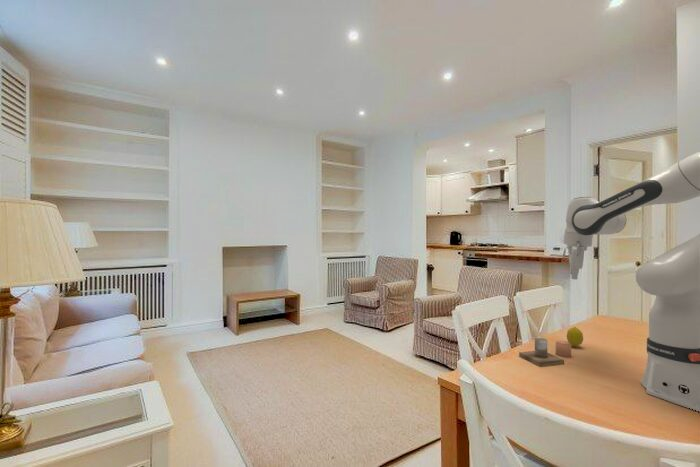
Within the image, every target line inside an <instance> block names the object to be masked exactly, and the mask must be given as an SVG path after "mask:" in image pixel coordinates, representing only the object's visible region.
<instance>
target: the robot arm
mask: <svg viewBox="0 0 700 467" xmlns="http://www.w3.org/2000/svg"><path fill="white" fill-rule="evenodd" d="M699 197H700V151H698V152H694V154H691V155H689V156H686V157H684V158H683V159H681V160H680V161H677V162H676V163H674V164H672V165H670V166H668V167H667V168H665V169H663V170H661V171H660V172H658V173H656V174H654V175H652V176H650V177H649V178H647V179H645V180H643V181H641V182H639V183H636V184H635V185H633V186H631V187H629V188H626V189H624V190H622V191H620V192H618V193H616V194H614V195H612V196H610V197H607V198H606V199H604V200H601V201H599V200H597V199H596V197H593V196H581V197H575V198H573V199H571V200H570V202H569V204H568V206H567V210H566V211H567V212H566V218H565V222H566V227H565V229H564V237H563V244H564V245H566V249H567V250H568V262H569V266H570V275H571V279H572V280H575V281H576V280H578V275H579V272H580V270H581V269H583V266H584V256H585V252H587V251H588V248H589V247H592V246H593V239H594V238H593V237H594V235H597V236H599V235H603V236H604V235H613V234H614V235H615V234H618V233H620V232H621V231H623V229H625V227H626V224H627V217H626V214H628V213H629V212H631V211H633V210H636V209H638V208H642V207H646V206H652V205H653V206H655V205H665V204H666V205H667V204H678V203H682V202H685V201H689V200H692V199H695V198H699ZM635 282H636V283H637V285H638V287H639V288H640V289H641V290H642V291H644V293H645V292H646V293H647V294H649V295H652V296H656V297H655V299H654V303H653V305H652V307H651V309H650V310H649V313H648V337H647V338H646V352H647V360H646V361H647V362H646V366H645V367H646V368H645V371H644V374H643V377H642V380H641V385H642V387H643V388H645V391H646V393H647V394H648V395H651V396H653V397H656V398H659V399H662V400H665V401H667V402H669V403H673V404H676V405H679V406H681V407H685V408H687V409H689V408H690V409H689V410H692V409H693V410H692V411H695V410H696V412H698V411H699V412H698V413H700V233H699V234H697V235H695V236H694V237H692V238H690V239H688V240H687V241H684V242H682V243H681V244H679V245H676V246H674V247H673V248H671V249H669V250H667V251H665V252H664V253H662V254H659V255H658V256H656V257H655V258H652V259H651V260H649V261H647V262H645V263H644V264H642V265H640V266H639V268H638V269H637V270H636V272H635Z"/></svg>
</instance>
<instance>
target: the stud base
mask: <svg viewBox="0 0 700 467" xmlns="http://www.w3.org/2000/svg"><path fill="white" fill-rule="evenodd" d="M518 354H519V355H518V356H519V357H520V358H522V359H524V360H525V361H528V362H530V363H532V364H534V365H536V366H538V367H540V368H542V367H550V366H551V367H552V366H558V365H559V366H560V365H564V364H565V359H563V358H562V357H560V356H557V355H554V354H552V353H549V352H548V339H547V338H545V337H535V338H534V350H530V351H529V350H528V351H520V352H518Z"/></svg>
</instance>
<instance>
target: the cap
mask: <svg viewBox="0 0 700 467" xmlns="http://www.w3.org/2000/svg"><path fill="white" fill-rule="evenodd" d="M555 356H557V357H559V358H571V357H572V344H570V343H569V342H568V340H566V341H565V340H560V339H559V340H557V341H555Z"/></svg>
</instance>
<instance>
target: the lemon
mask: <svg viewBox="0 0 700 467" xmlns="http://www.w3.org/2000/svg"><path fill="white" fill-rule="evenodd" d="M566 339H567V340H566V341H567V342H569V343H570V344H571V346H573V347H574V348H576V347H577V346H581V345H582V343H583V341H584V334H583V332H582V331H581V330H580V329H579V328H577V327H576V326H573V327H571V328H569V329H568V330H567V332H566Z"/></svg>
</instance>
